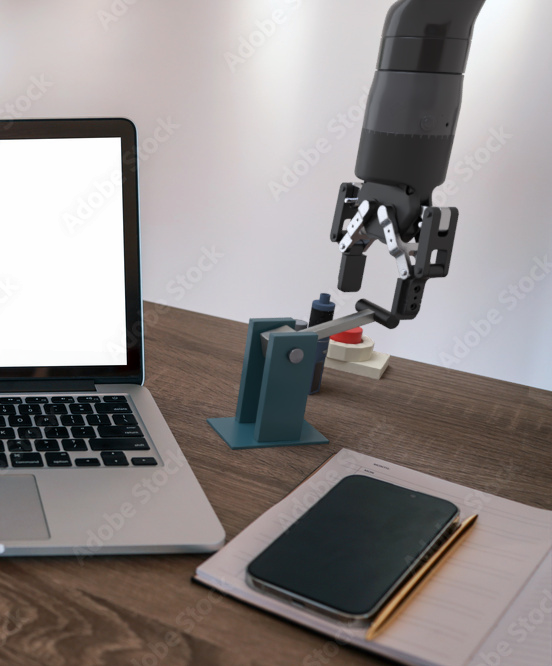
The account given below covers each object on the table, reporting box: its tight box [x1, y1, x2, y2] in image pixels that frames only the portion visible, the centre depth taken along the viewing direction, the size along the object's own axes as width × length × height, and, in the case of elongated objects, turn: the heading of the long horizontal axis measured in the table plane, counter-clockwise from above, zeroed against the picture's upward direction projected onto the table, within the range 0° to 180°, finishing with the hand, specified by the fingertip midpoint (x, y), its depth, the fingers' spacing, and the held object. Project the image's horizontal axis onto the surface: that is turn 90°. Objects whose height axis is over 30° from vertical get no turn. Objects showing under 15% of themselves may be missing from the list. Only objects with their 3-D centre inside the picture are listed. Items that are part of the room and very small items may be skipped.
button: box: [330, 326, 364, 344], centre depth 93 cm, size 4×4×2 cm
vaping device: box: [293, 292, 336, 396], centre depth 85 cm, size 3×5×12 cm, turn 40°
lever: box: [260, 298, 401, 358], centre depth 73 cm, size 12×5×2 cm, turn 103°
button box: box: [324, 333, 391, 381], centre depth 94 cm, size 10×6×4 cm, turn 58°
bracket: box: [205, 316, 330, 451], centre depth 74 cm, size 10×6×12 cm, turn 103°
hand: (373, 304), depth 73 cm, fingers open, 8 cm apart
